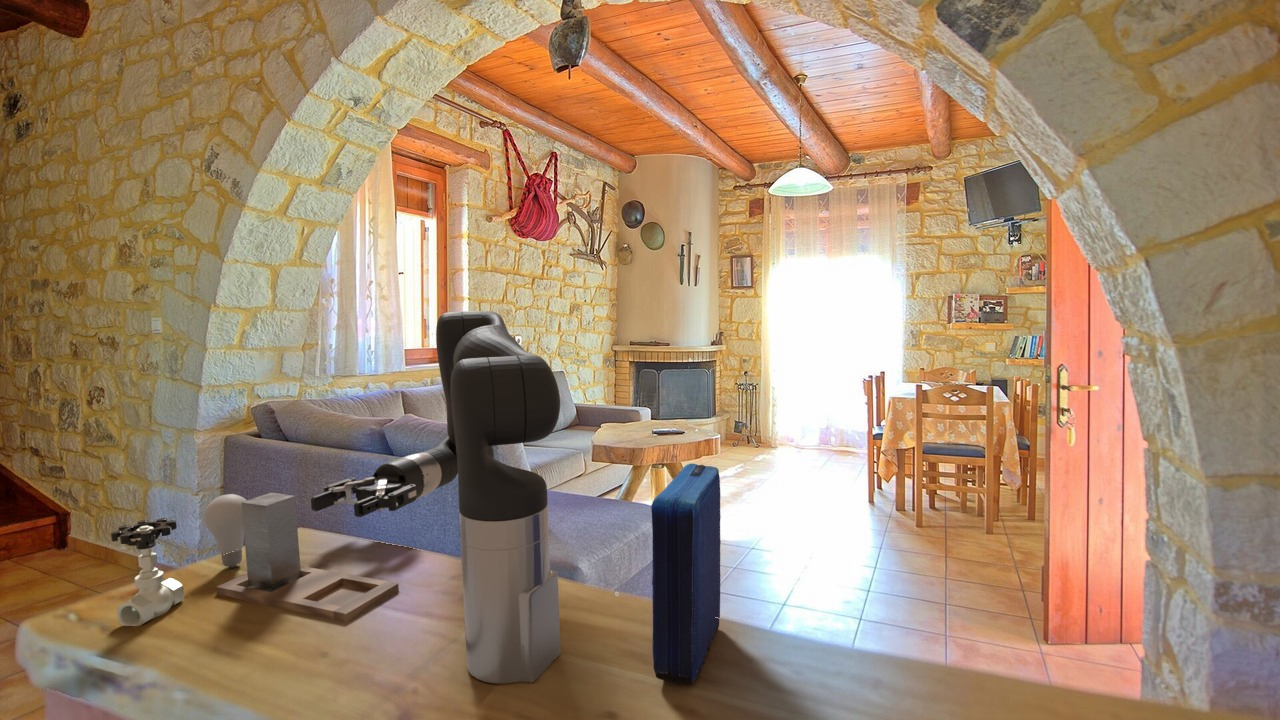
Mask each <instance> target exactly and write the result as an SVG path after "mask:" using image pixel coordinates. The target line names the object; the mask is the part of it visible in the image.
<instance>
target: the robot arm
mask: <svg viewBox="0 0 1280 720" xmlns="http://www.w3.org/2000/svg"><path fill="white" fill-rule="evenodd" d="M435 337H436V338H435V340H436V341H435V343H436V353H437V361H438V367H439V373H440V381H441V383H442V389H443V393H444V397H445V403H446V427H447V428H446V431H447V435H446V436H445V437H444V438H443V439H442V440H441V441H440V442H438V443H437V444H436V445H435V446H433V447H432V448H431V449H427V450H424V451H421V452H419V453H412V454H408V455H406V456H403V457H400V458H398V459H395V460H391V461H388V462H385V463H383V464H381V465H380V466H378V467H377V469H376V470H375V471H374V473H373V476H371V477H370V476H369V477H365V478H363V479H362V480H356V478H355V477H349V478H346V479H343V480H340V481H336V482H334V483H331V484H327V485H324V486H323V492H322V493H320V494H316V495H313V496H312V497H311V498H310V504H311V510H312V511H313V512H319V511H321V510H324V509H327V508H329V507H331V506H335V505H339V504H346V505H348V506H352V505H353V510H354V511H353V512H354V516H355V517H356V518H362V517H364V516H367V515H369V514H371V513H373V512H382V511H384V510H386V509H387V508H388V511H390V512H395V511H398V510H400V508H403V507H404V506H405V507H406V506H407V505H410V504H411V503H413V502H415V501H417V500H418V499H419V498H421V497H424V496H426V495H428V494H430V493H431V492H433V491H434V490H436V489H439V488H441V487H443V486H445V485H448V484H449V483H452V482H453V480H455V479H456V477H457V479H458V481H457V482H458V483H457V484H458V510H459V529H460V530H459V531H460V535H459V536H460V552H461V553H460V554H461V555H460V556H461V572H462V573H461V574H462V592H463V593H462V594H463V595H462V596H463V615H464V632H465V650H466V651H465V653H466V666H467V667H466V668H467V671H468V672H469V673H470V675H471V676H473V677H474V678H476V679H477V680H479V681H482V682H486V683H490V684H511V683H512V684H513V683H517V682H518V683H519V682H528V683H534V682H535V681H536V680H537V679H538V678H539V677H541V674H543V673H544V672H545V671H546V670H547V668H548V667H549V666H550V665H552V663H553V662H555V660H556V659H557V658H558V657H559V656H560V655H561V652H562V650H561V627H560V623H561V622H560V598H559V596H560V595H559V575H558V572H557V571H555V570H551V566H550V538H549V508H548V507H549V506H548V488H547V486H548V485H547V483H546V480H545V479H544V478H543V477H542V476H541V475H540V474H537V473H536V472H533V471H532V470H527V469H523V468H518V467H514V466H511V465H508V464H505V463H503V462H501V461H499V460H497V459H495V453H494V448H493V446H505V445H518V444H526V443H527V444H528V443H534V442H538V441H541V440H543V439H545V438H547V437H549V436H550V435H551V434H552V432H553V431H554V430H555V428H556V426H557V423H558V421H559V417H560V412H561V397H560V390H559V387H558V382H557V380H556V377H555V375H554V372H553V370H552V368H551V367H550V365H549V364H548V363H547V361H546V360H545V359H544V358H543V357H541V356H539V355H536V354H534V353H532V352H531V353H530V352H529V351H527V350H525V349H524V348H523V347H522V346H521V344H519V342H518V341H517V340H516V338H514V337H513V335H511V334H510V333H509V331H508V328H507V326H506V323H505V321H504V319H503V318H502V316H501V315H500V314H499V313H497V312H496V311H490V310H468V311H467V310H465V311H463V310H462V311H461V310H460V311H449V312H444V313H442V314H441V315H440V316H438V319H437V323H436V330H435ZM354 494H355V498H352V496H353V495H354Z"/></svg>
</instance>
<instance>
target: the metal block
mask: <svg viewBox="0 0 1280 720" xmlns="http://www.w3.org/2000/svg"><path fill="white" fill-rule="evenodd" d="M246 500H247V499H246ZM241 504H242V516H243V527H244V539H243V540H244V548H245V549H244V550H245V558H246V559H245V560H246V571H247V573H246V574H248V585H249V588H252V589H257V590H262V591H267V592H273V591H275V590H277V589H279V588H281V587H283V586H285V585H287V584H289V583H291V582H293V581H295V580H297V579H299V578H301V568H300V566H301V560H300V559H301V558H300V555H301V554H300V545H299V532H298V520H297V518H298V517H297V505H296V496H295V495H294V494H293V495H292V494H283V493H275V492H269V493H266V494H263V495H260V496H256V497H254V498H251V499H248V500H247V501H244V502H241Z"/></svg>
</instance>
